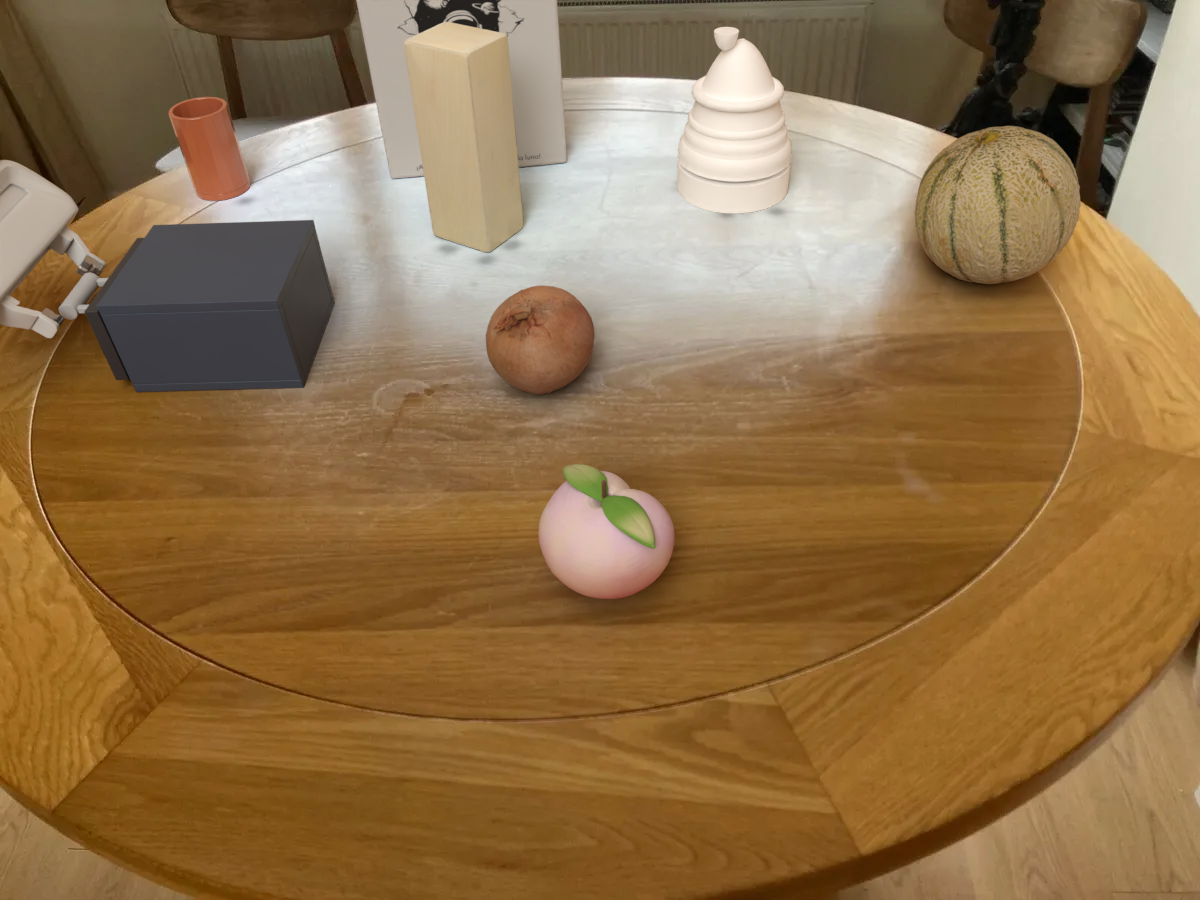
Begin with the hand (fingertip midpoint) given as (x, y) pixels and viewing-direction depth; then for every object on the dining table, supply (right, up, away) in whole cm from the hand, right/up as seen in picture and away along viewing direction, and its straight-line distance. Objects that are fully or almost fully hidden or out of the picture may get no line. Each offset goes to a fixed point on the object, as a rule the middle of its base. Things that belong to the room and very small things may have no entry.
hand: (80, 300), depth 88 cm
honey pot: (+63, +17, +24) cm, 70 cm away
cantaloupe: (+86, +4, +9) cm, 86 cm away
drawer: (+9, -3, +3) cm, 10 cm away
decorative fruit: (+48, -23, -20) cm, 57 cm away
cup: (+2, +18, +29) cm, 34 cm away
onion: (+43, -7, -2) cm, 43 cm away
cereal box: (+32, +23, +32) cm, 51 cm away
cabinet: (+13, -4, +4) cm, 14 cm away
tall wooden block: (+34, +10, +19) cm, 41 cm away
